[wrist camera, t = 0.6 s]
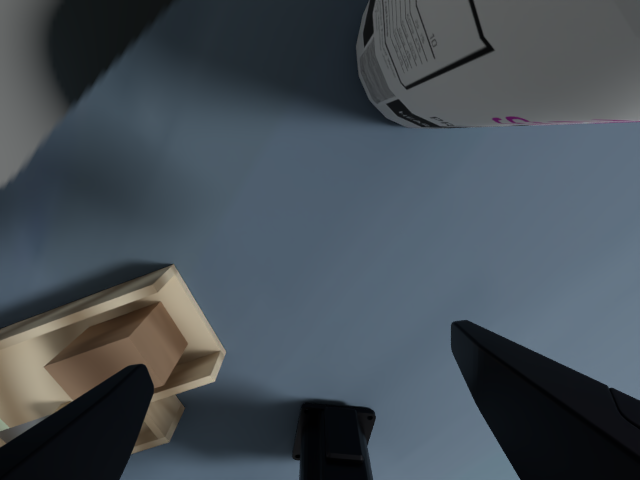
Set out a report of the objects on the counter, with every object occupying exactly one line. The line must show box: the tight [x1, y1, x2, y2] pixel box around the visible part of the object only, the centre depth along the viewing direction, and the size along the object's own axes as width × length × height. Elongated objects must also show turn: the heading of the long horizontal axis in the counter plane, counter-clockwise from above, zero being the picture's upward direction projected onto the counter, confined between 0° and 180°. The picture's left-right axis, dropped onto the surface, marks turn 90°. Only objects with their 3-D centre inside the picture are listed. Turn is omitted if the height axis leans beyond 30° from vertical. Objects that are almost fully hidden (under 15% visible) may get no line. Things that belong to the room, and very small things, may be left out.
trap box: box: [0, 264, 226, 454], centre depth 23 cm, size 24×12×3 cm, turn 111°
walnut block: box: [44, 301, 188, 400], centre depth 21 cm, size 6×4×4 cm, turn 110°
